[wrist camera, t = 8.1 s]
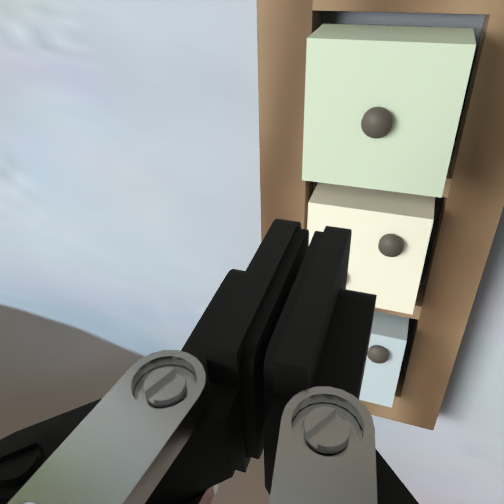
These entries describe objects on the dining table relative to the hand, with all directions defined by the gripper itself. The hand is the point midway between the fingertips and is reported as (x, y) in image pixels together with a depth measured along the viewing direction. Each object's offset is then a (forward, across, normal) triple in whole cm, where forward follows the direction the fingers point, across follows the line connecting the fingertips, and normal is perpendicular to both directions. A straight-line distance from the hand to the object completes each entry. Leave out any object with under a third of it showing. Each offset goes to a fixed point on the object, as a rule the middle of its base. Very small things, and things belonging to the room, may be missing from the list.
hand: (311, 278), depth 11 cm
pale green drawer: (+14, 0, 0) cm, 14 cm away
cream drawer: (+15, 0, +8) cm, 17 cm away
